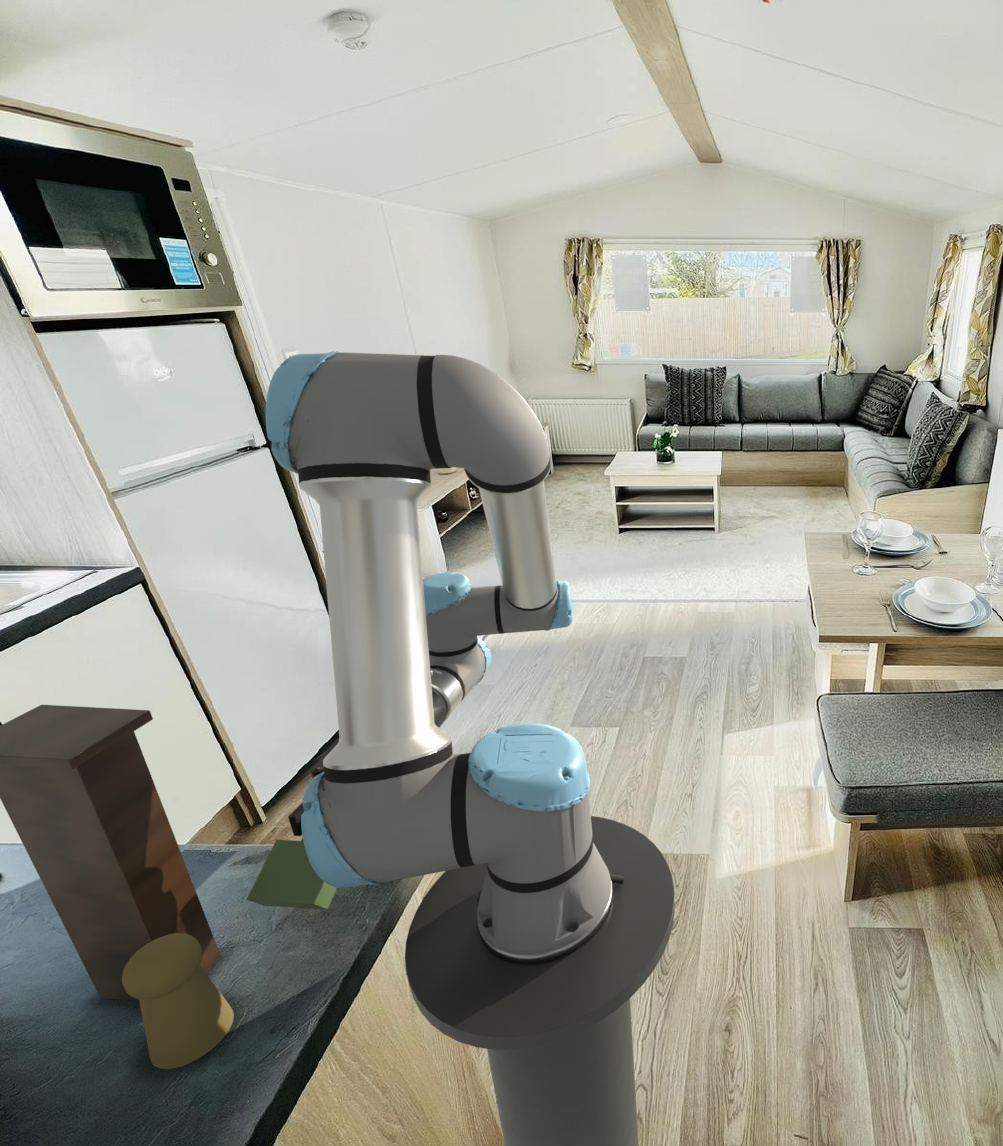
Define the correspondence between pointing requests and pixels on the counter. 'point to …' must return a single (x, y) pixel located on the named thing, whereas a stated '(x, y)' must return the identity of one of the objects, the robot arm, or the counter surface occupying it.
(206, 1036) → the cork
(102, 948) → the shelf stand
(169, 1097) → the counter surface
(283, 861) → the paddle
